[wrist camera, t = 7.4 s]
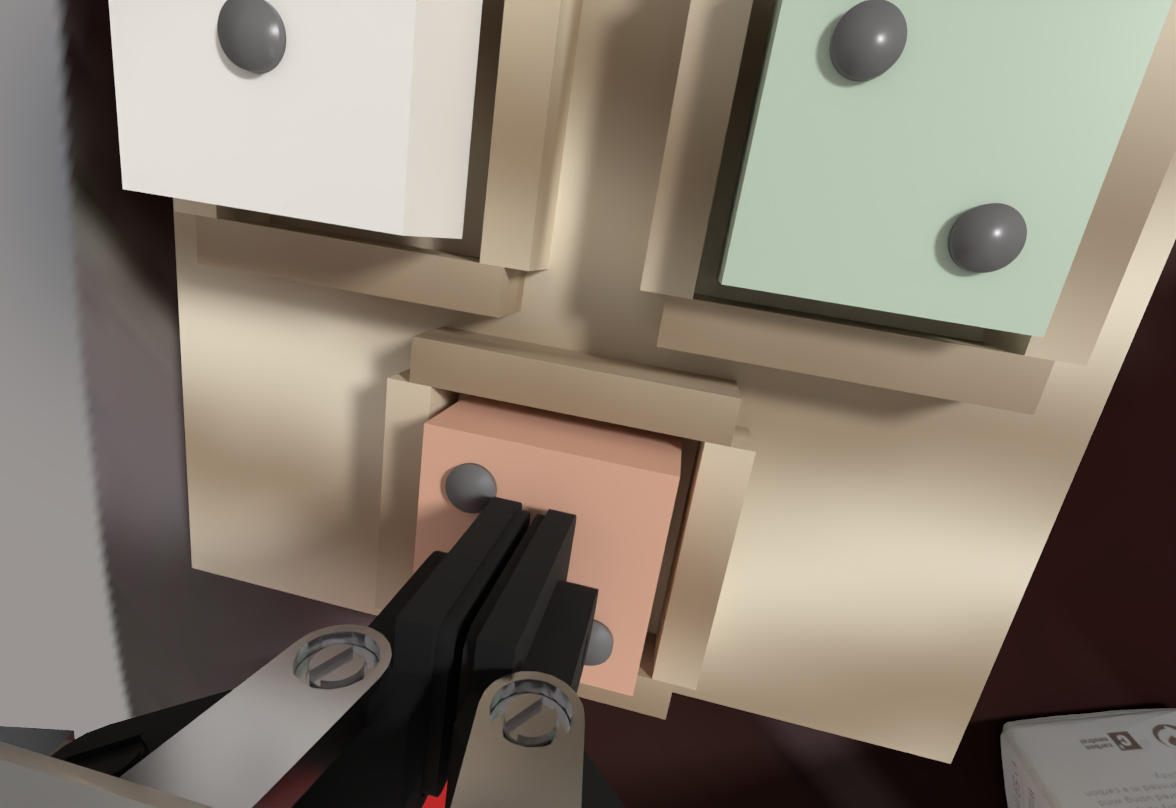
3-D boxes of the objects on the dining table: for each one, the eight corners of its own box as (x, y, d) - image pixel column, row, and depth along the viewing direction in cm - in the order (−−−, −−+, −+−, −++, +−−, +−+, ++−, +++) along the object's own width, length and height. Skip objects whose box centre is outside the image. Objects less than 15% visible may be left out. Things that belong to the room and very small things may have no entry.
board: (195, -112, 13) (76, -200, 10) (1241, -21, 10) (1419, -109, 8) (219, 550, 18) (141, 599, 15) (934, 731, 15) (981, 826, 12)
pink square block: (470, 393, 13) (420, 425, 11) (682, 436, 13) (680, 479, 10) (452, 578, 15) (404, 642, 12) (642, 624, 14) (631, 702, 12)
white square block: (226, -88, 10) (83, -191, 8) (488, -63, 10) (420, -167, 7) (232, 201, 12) (113, 188, 9) (462, 239, 11) (397, 235, 9)
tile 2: (774, 0, 10) (799, -77, 8) (1070, 30, 10) (1197, -43, 7) (715, 278, 12) (721, 285, 9) (971, 319, 11) (1049, 339, 9)
